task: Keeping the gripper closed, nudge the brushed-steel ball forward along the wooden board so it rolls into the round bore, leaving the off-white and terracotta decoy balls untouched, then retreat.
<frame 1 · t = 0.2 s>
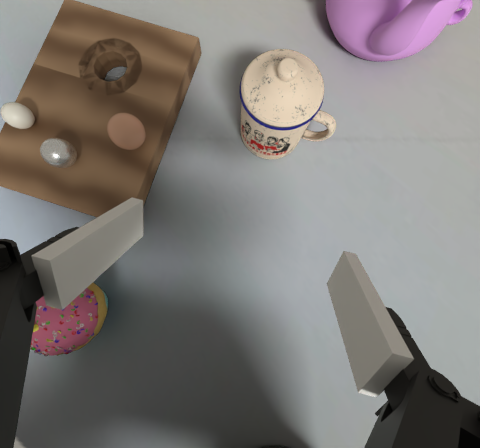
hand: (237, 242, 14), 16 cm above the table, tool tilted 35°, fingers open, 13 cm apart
teacup with lid: (279, 136, 32), on the table
steel ball: (59, 153, 27), point 4 cm above the table, touching wooden board
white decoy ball: (18, 115, 28), point 4 cm above the table, touching wooden board
teapot: (370, 38, 35), on the table
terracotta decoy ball: (127, 131, 27), point 5 cm above the table, touching wooden board
cupcake: (91, 303, 29), on the table
wooden board: (104, 116, 32), on the table
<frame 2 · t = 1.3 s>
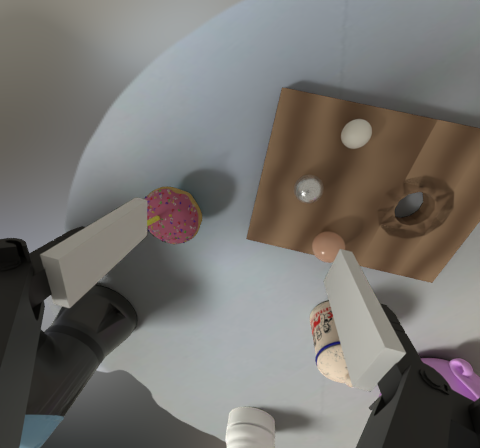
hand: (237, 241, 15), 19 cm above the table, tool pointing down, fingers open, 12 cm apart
teacup with lid: (329, 320, 42), on the table
steel ball: (308, 189, 27), point 4 cm above the table, touching wooden board
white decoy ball: (356, 134, 24), point 4 cm above the table, touching wooden board
teapot: (409, 373, 46), on the table
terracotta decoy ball: (328, 246, 30), point 5 cm above the table, touching wooden board
honey pot: (251, 418, 62), on the table
cupcake: (183, 204, 36), on the table
wooden board: (360, 192, 31), on the table
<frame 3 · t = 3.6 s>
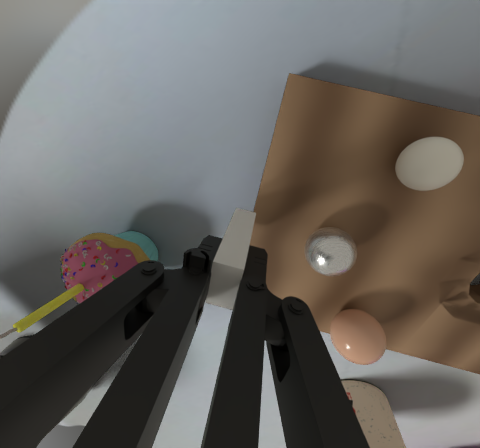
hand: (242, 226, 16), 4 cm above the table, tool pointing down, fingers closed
teacup with lid: (345, 400, 31), on the table
steel ball: (329, 251, 16), point 4 cm above the table, touching wooden board
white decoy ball: (426, 164, 13), point 4 cm above the table, touching wooden board
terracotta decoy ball: (356, 335, 19), point 5 cm above the table, touching wooden board
cupcake: (140, 248, 24), on the table
wooden board: (409, 247, 19), on the table
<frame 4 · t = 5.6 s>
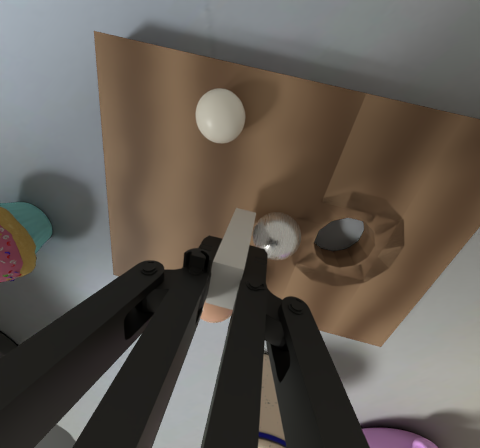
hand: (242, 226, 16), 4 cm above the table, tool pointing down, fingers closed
teacup with lid: (258, 375, 32), on the table
steel ball: (276, 236, 16), point 4 cm above the table, tilted 86°, touching wooden board
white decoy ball: (220, 117, 14), point 4 cm above the table, touching wooden board
teapot: (367, 440, 35), on the table
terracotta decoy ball: (215, 296, 19), point 5 cm above the table, touching wooden board
cupcake: (35, 220, 25), on the table
wooden board: (271, 213, 20), on the table
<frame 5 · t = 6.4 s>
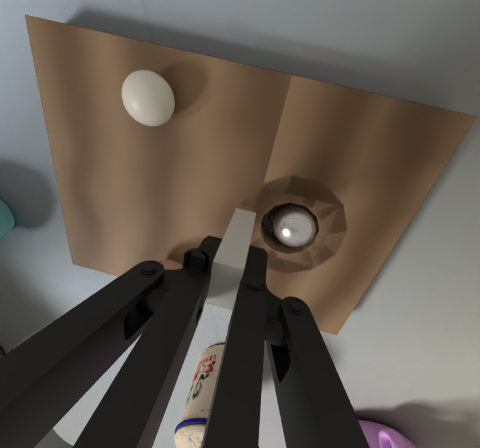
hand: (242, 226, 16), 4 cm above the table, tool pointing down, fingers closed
teacup with lid: (228, 367, 32), on the table
steel ball: (294, 225, 18), point 2 cm above the table, tilted 158°
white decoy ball: (149, 99, 14), point 4 cm above the table, touching wooden board
teapot: (340, 433, 35), on the table
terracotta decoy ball: (165, 283, 19), point 5 cm above the table, touching wooden board
wooden board: (223, 200, 20), on the table
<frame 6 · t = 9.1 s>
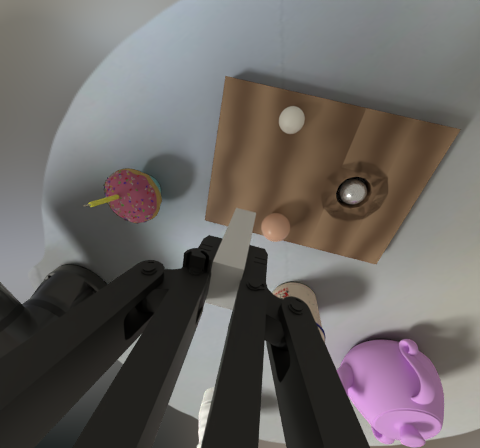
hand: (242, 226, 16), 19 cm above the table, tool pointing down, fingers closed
teacup with lid: (290, 302, 45), on the table
steel ball: (352, 191, 31), point 2 cm above the table, tilted 152°
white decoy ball: (291, 120, 26), point 4 cm above the table, touching wooden board
teapot: (367, 355, 48), on the table
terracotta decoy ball: (275, 227, 32), point 5 cm above the table, touching wooden board
honey pot: (225, 399, 65), on the table
cupcake: (149, 187, 38), on the table
wooden board: (308, 177, 33), on the table
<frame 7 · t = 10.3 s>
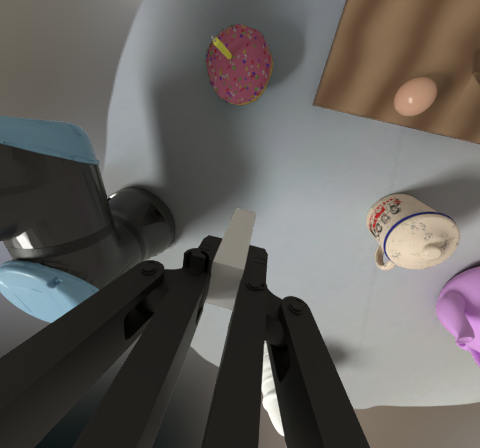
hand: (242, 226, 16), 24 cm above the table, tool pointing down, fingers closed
teacup with lid: (386, 223, 40), on the table
teapot: (465, 289, 43), on the table
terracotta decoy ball: (414, 97, 27), point 5 cm above the table, touching wooden board
honey pot: (282, 354, 60), on the table
cupcake: (244, 73, 33), on the table
wooden board: (450, 42, 28), on the table
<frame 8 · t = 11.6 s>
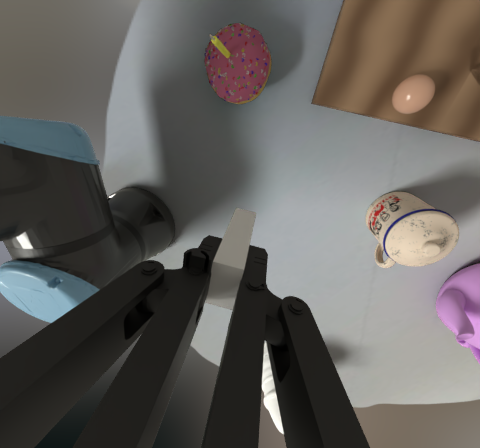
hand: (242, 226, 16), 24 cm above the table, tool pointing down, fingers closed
teacup with lid: (386, 221, 40), on the table
teapot: (465, 286, 43), on the table
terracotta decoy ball: (412, 94, 27), point 5 cm above the table, touching wooden board
honey pot: (283, 353, 60), on the table
cupcake: (242, 72, 33), on the table
wooden board: (447, 39, 28), on the table
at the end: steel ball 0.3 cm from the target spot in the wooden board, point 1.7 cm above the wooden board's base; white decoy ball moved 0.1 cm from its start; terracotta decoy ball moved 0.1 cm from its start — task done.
